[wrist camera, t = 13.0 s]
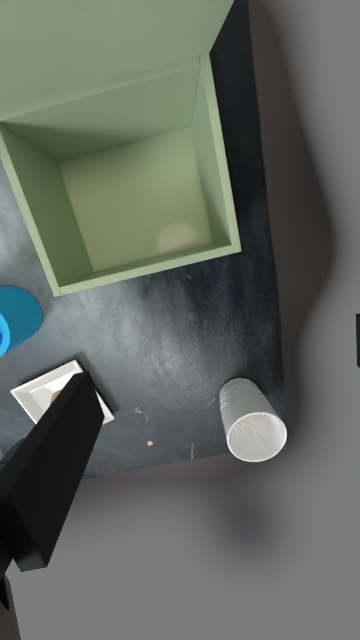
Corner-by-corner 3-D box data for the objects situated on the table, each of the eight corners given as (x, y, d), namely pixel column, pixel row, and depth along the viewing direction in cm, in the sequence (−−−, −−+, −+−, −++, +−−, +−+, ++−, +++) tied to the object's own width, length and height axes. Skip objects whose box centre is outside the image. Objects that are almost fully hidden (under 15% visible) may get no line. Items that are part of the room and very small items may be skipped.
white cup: (257, 369, 43) (282, 406, 33) (265, 409, 45) (290, 454, 36) (210, 380, 43) (221, 420, 34) (220, 419, 46) (233, 467, 36)
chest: (218, 247, 37) (241, 251, 25) (92, 278, 38) (54, 297, 26) (195, 120, 33) (208, 49, 21) (52, 158, 34) (-18, 112, 21)
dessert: (77, 356, 41) (65, 371, 37) (116, 414, 45) (109, 434, 40) (13, 387, 43) (-6, 404, 38) (55, 441, 46) (43, 463, 41)
